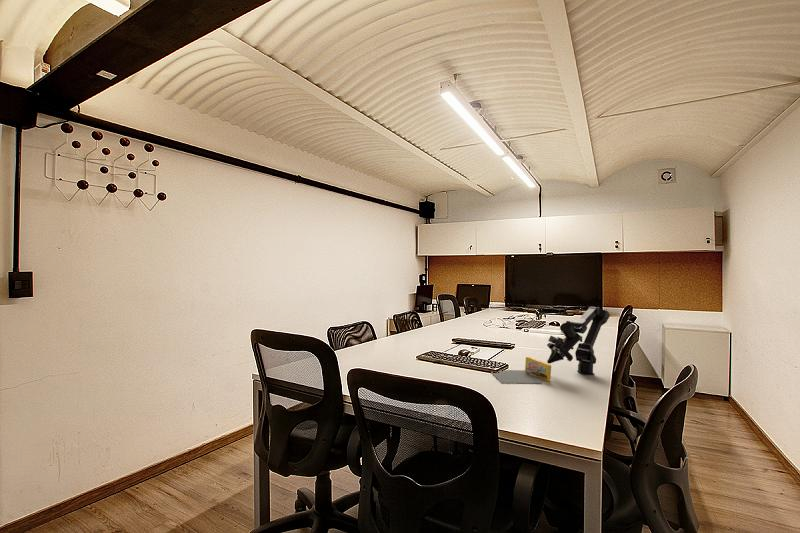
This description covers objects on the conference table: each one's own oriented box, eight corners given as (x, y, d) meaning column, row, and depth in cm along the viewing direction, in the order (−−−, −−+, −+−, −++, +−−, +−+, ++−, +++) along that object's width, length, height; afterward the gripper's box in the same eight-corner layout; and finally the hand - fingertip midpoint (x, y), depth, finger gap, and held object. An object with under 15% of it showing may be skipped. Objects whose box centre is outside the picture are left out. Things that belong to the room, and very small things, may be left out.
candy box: (524, 372, 207) (525, 356, 207) (527, 371, 208) (528, 356, 208) (547, 381, 193) (548, 365, 193) (550, 381, 194) (552, 364, 194)
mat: (525, 371, 211) (525, 370, 211) (541, 383, 189) (541, 382, 189) (489, 370, 211) (489, 370, 211) (501, 383, 189) (501, 382, 189)
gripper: (551, 327, 210) (530, 347, 209) (567, 334, 191) (544, 356, 191) (564, 342, 210) (544, 362, 210) (582, 350, 192) (560, 372, 191)
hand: (547, 362), depth 200 cm, fingers closed
